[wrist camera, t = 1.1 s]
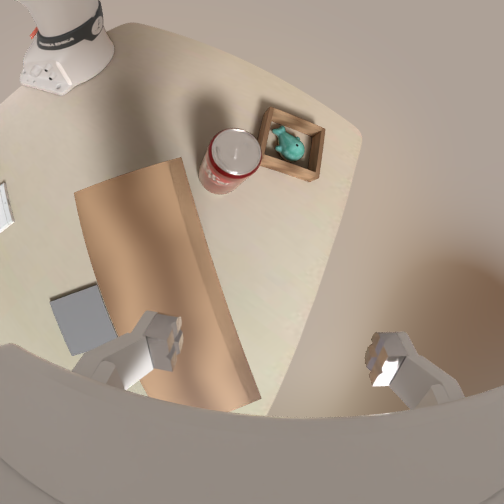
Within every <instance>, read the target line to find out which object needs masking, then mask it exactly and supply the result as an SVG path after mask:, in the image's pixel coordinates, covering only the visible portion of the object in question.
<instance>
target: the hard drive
mask: <svg viewBox="0 0 504 504" xmlns="http://www.w3.org/2000/svg"><path fill="white" fill-rule="evenodd" d="M14 222H15V221H14V217H13V214H12V210H11V206H10V201H9V197H8V192H7V187H6V183H2V184H1V185H0V233H1V232H2V231H3V230H5V229H6V228H7V227H9V226H10V225H11V224H13V223H14Z"/></svg>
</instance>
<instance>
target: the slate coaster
mask: <svg viewBox="0 0 504 504" xmlns="http://www.w3.org/2000/svg"><path fill="white" fill-rule="evenodd" d="M50 305H51V308H52V310H53V313H54V316H55V318H56V321H57V323H58V326H59V328H60V330H61V333H62V335H63V337H64V340H65V342H66V344H67V346H68V349H69V351H70V353H71V355H72V356H74V355H77V354H81V353H84V352H87V351H90V350H92V349H94V348H96V347H99V346H101V345H103V344H105V343H107V342H109V341H111V340H113V339H115V338H117V337H118V336H117V334H116V331H115V329H114V326H113V324H112V322H111V319H110V317H109V314H108V312H107V309H106V307H105V304H104V301H103V299H102V296H101V293H100V290H99V287H98V285H95V286H92V287H90V288H87V289H84V290H81V291H78V292H76V293H73V294H70V295H67V296H65V297H62V298H59V299H56V300H54V301H51V302H50Z"/></svg>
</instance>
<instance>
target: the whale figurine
mask: <svg viewBox="0 0 504 504" xmlns="http://www.w3.org/2000/svg"><path fill="white" fill-rule="evenodd" d="M272 133H273V134H275V135H276V136H277V137H278V146H276V147H275V150H276V151H278V152H279V153H280V156H281V157H282V158H283V159H284V160H286V161H289V162H294V161H297V160H299V159H300V158H301V157H302V156H303V154H304V145H303V143H302V142H301V141H300V138H299V137H294V136H292V135H290V134H289V133H287V132H286V131H285V127H284V126H280V127H279V128H277V129H273V130H272Z"/></svg>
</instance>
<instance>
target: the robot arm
mask: <svg viewBox="0 0 504 504" xmlns="http://www.w3.org/2000/svg"><path fill="white" fill-rule="evenodd" d="M15 1H17V2H20V3H21V4H23V5H24V6H25V7H26V8H27V9H28V11H29V12H30V14H31V16H32V18H33V19H34V21H35V23H36V25H37V27H36V28H35V30H34V31H33V32H32V34H33V33H34V34H33V35H32V34H31V35H30V36H32V37H31V39H32V38H33V37H34V36H35V35H36V33H37V38H36V39H35V40H34V41H33V42H32V44H31V46H30V47H29V48H28V50H27V52H26V54H25V56H24V59H23V65H24V68H23V70H22V73H21V76H20V83H21V84H22V85H25V86H29V87H33V88H36V89H40V90H43V91H47V92H50V93H54V94H57V95H64V94H66V93H67V92H69V91H70V90H71V89H72V88H74V87H75V86H76V85H78V84H81V83H83V82H85V81H87V80H89V79H91V78H93V77H94V76H96V75H97V74H98V73H100V72H101V71H102V70H103V69H104V68H105V67H106V66H107V65H108V63H109V62H110V60H111V59H112V57H113V54H114V45H113V43H112V41H111V40H110V38H109V37H108V35H107V33H106V31H105V29H104V26H103V13H102V7H101V2H100V1H99V0H15ZM58 88H59V89H58ZM181 325H182V320H181V317H180V316H176V315H171V314H165V313H160V312H154V311H149V310H147V311H145V312H144V314H143V315H142V317H141V318H140V320H139V321H138V323H137V324H136V326H135V327H134V329H133V331H132V332H131V333H126V334H124V335H122V336H120V337H117V338H115V339H113V340H111V341H109V342H107V343H105V344H103V345H101V346H99V347H96V348H94V349H92V350H90V351H88V352H86V353H84V355H83V356H82V357H81V359H80V360H79V362H78V363H77V364H76V366H75V367H74V369H73V370H72V371H70V370H68V369H65V368H63V367H60V366H58V365H56V364H54V363H52V362H49V361H47V360H45V359H43V358H41V357H39V356H37V355H35V354H33V353H31V352H29V351H27V350H25V349H23V348H22V347H20V346H18V345H16V344H13V343H8V344H4V345H1V346H0V504H504V385H503V386H500V387H497V388H495V389H492V390H489V391H486V392H483V393H480V394H476V395H473V396H470V397H466V398H465V397H464V394H463V392H462V390H461V388H460V386H459V385H458V382H457V381H456V380H455V379H454V378H453V377H451V376H450V375H448V374H447V373H445V372H444V371H443V370H441V369H440V368H438V367H437V366H436V365H434V364H433V363H431V362H430V361H429V360H427V359H426V358H424V357H423V356H421V355H418V353H417V352H416V350H415V348H414V346H413V344H412V342H411V340H410V338H409V336H408V334H407V333H406V332H376V333H375V334H374V335H373V336H372V339H371V340H372V344H371V345H370V346H369V347H368V348H367V351H366V354H365V364H366V367H367V368H368V369H369V370H370V371H371V372H370V374H369V377H370V380H371V384H372V386H387V385H389V387H390V388H391V389H392V390H393V391H394V392H395V393H396V394H397V395H398V396H399V397H400V399H402V401H403V402H404V403H405V404H406V405H407V406H408V407H409V408H410V409H411V410H407V411H399V412H392V413H384V414H375V415H364V416H351V417H328V418H298V417H297V418H296V417H274V416H272V417H271V416H260V415H249V414H239V413H231V412H223V411H216V410H210V409H204V408H198V407H192V406H187V405H182V404H177V403H173V402H168V401H164V400H160V399H156V398H152V397H148V396H144V395H140V394H137V393H133V392H130V391H126V389H128V388H129V387H130V386H132V385H133V384H134V383H136V382H137V381H139V380H140V379H141V378H143V377H144V376H145V375H147V374H148V373H149V372H151V371H152V370H153V368H155V369H160V370H165V371H171V372H173V370H174V367H175V365H176V362H177V356H176V355H178V354H180V352H181V349H182V345H183V332H182V331H181V329H180V328H181Z"/></svg>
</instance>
